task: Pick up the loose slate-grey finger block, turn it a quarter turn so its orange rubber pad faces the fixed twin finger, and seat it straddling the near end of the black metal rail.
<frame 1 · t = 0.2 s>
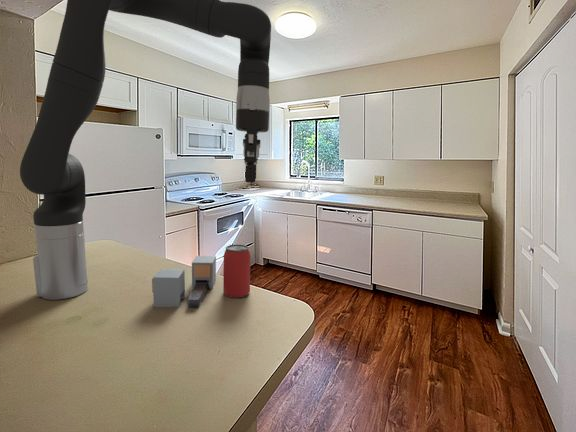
hand: (250, 180, 75), 28 cm above the counter, fingers open, 8 cm apart
beer can: (236, 294, 80), on the counter
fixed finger: (204, 284, 84), resting in rail
rail: (200, 292, 79), on the counter
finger: (169, 301, 74), on the counter
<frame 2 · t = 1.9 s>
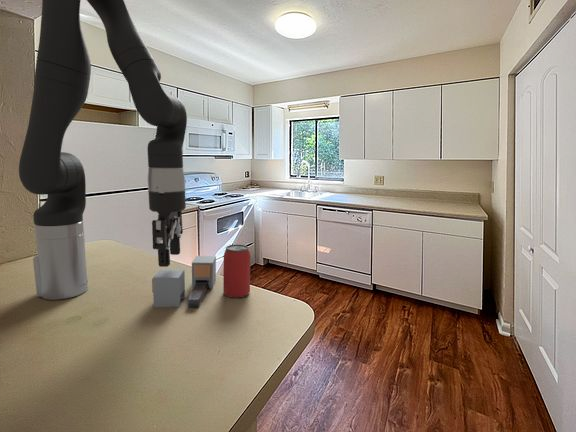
hand: (170, 259, 72), 10 cm above the counter, fingers open, 8 cm apart
nothing on the counter moved.
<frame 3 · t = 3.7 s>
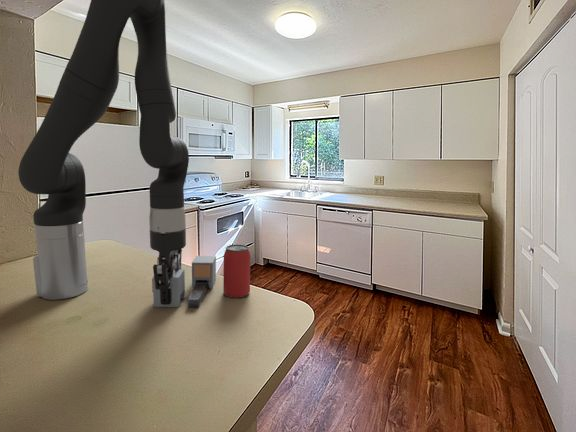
hand: (169, 297, 73), 1 cm above the counter, fingers closed on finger, 5 cm apart
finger: (169, 301, 74), on the counter, touching gripper
everything else where it was.
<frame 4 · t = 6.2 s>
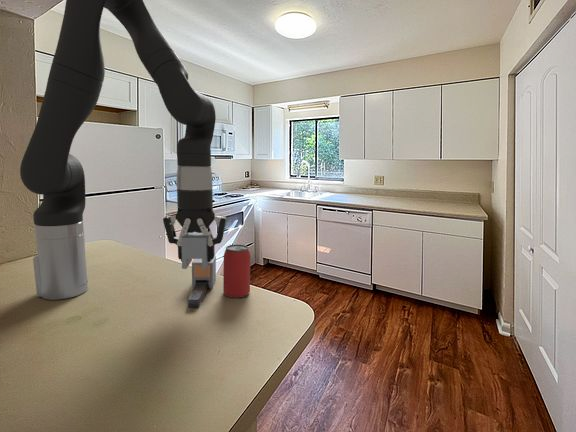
hand: (196, 260, 73), 10 cm above the counter, fingers closed on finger, 5 cm apart
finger: (196, 264, 73), point 9 cm above the counter, touching gripper
everything else where it was.
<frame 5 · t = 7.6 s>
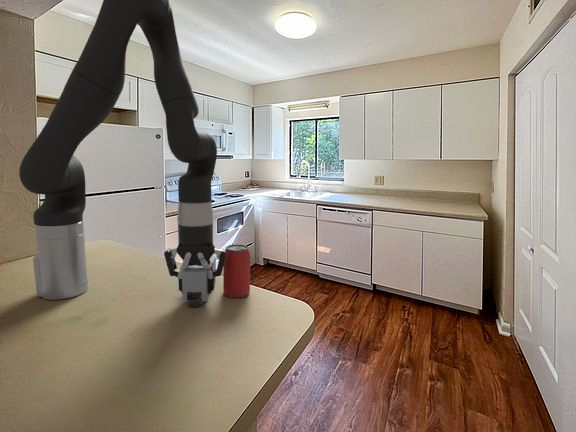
hand: (196, 292, 74), 2 cm above the counter, fingers closed on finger, 5 cm apart
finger: (197, 296, 74), point 1 cm above the counter, touching gripper
everything else where it was.
when the fingers open (1 cm above the counter, at t = 8.6 s): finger stays where it is, resting in rail.
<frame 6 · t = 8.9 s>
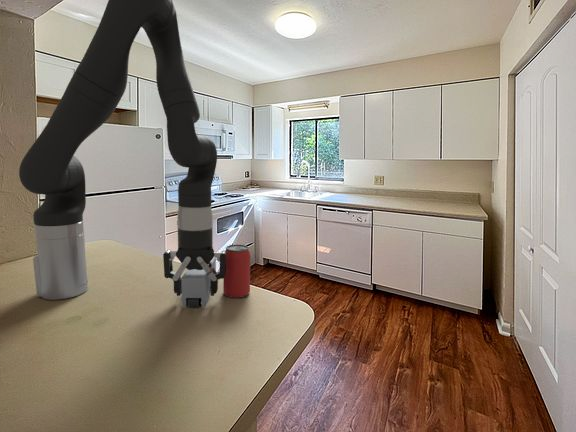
hand: (196, 294, 74), 2 cm above the counter, fingers open, 7 cm apart
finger: (196, 302, 74), resting in rail
everything else where it was.
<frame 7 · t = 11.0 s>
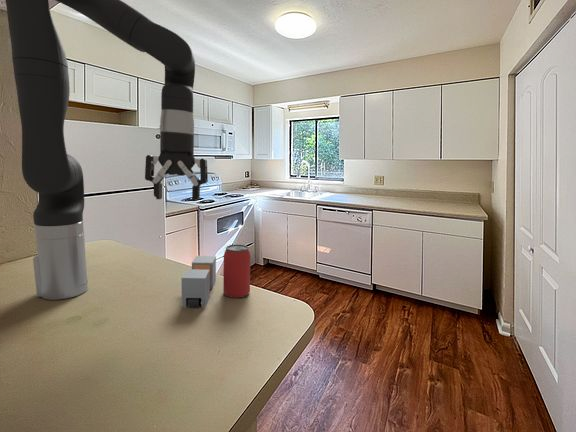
hand: (176, 200, 77), 23 cm above the counter, fingers open, 8 cm apart
nothing on the counter moved.
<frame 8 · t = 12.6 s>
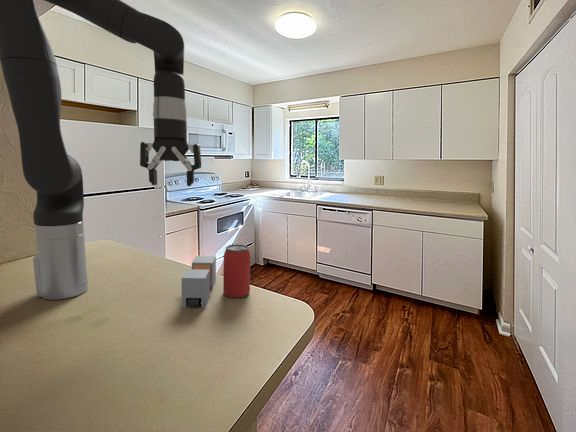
hand: (171, 185, 80), 26 cm above the counter, fingers open, 8 cm apart
nothing on the counter moved.
at the end: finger 0.0 cm from the target spot on the rail, point 0.0 cm above the rail's base; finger tilted 0°; the gripper is holding nothing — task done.
